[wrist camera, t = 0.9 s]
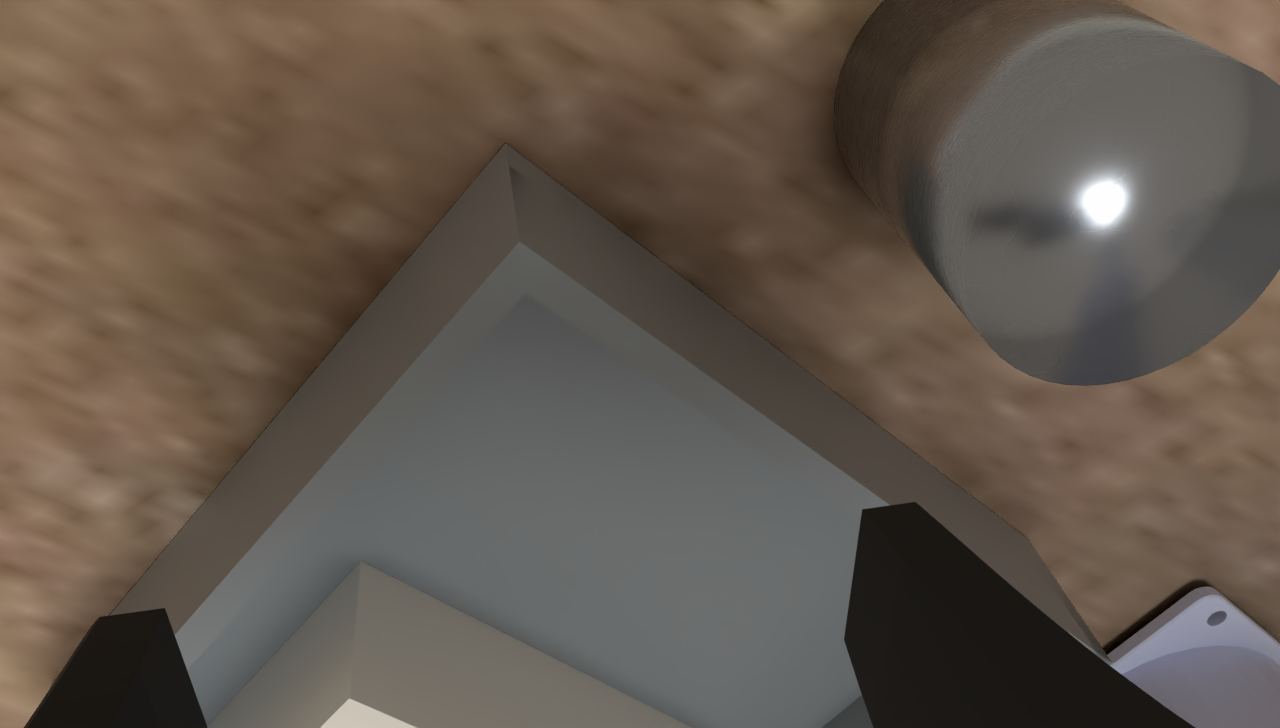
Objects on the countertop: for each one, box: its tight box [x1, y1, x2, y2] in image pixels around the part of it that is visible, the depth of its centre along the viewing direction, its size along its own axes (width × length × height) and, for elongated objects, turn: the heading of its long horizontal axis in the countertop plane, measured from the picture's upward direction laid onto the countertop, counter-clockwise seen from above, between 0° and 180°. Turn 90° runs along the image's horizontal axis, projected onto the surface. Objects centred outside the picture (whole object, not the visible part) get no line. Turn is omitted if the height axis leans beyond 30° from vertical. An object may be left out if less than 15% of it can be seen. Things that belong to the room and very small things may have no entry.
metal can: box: [834, 0, 1280, 386], centre depth 18 cm, size 5×5×6 cm
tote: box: [51, 143, 1112, 728], centre depth 24 cm, size 16×16×4 cm
